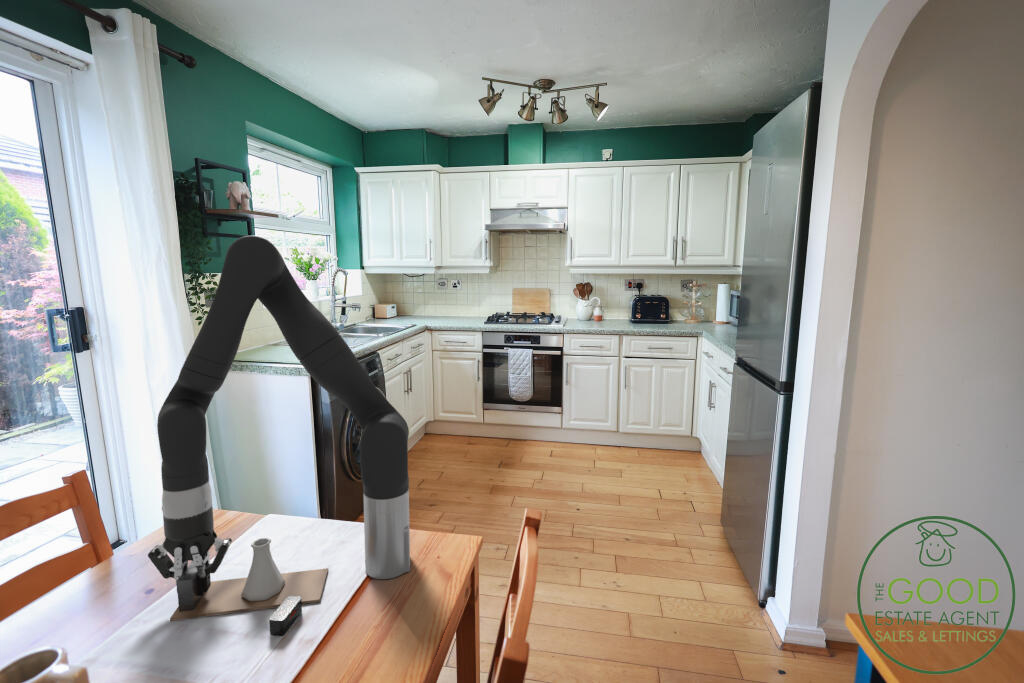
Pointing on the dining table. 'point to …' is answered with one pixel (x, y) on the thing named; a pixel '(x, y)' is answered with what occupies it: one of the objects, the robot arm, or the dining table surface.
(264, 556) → the flask
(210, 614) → the strip
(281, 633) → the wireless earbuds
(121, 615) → the dining table surface
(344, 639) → the dining table surface
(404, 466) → the robot arm
